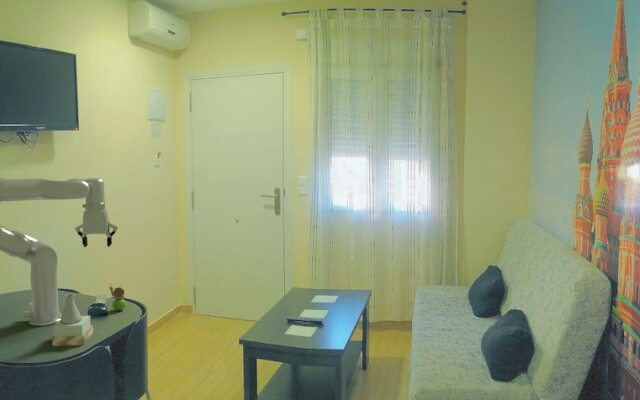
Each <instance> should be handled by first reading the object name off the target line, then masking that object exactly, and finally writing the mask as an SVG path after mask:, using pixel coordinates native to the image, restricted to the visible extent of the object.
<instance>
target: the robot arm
mask: <svg viewBox="0 0 640 400" xmlns="http://www.w3.org/2000/svg"><path fill="white" fill-rule="evenodd" d="M84 198H85V203H84V204H82V205H81V207H82V208H84V209H85V210H84V211H83V216H82V223H81V224H80V225H78V226H76V227H75V228H74V230H75V232H77V235H79V236H80V238H81V240H82V241H81V242H82V245H83V248H86V247H87V246H89V243H88V241H89V240H88V235H105V236H106V246H107V248H109V247H111V245H112V244H113V241H112V240H113V236H114V235H115V234H116V232H117V231H118V229H119V228H118V226H117V225H115V224H113V223H111V222H110V219H109V213H108V210H107V209H106V198H105V182H104V179H102V178H100V177H99V178H98V177H92V178H91V177H90V178H86V179H85V178H69V179H67V180H52V179H51V180H50V179H44V178H18V179H17V178H10V179H6V178H1V177H0V204H1V203H2V202H20V201H22V202H23V201H50V200H51V201H52V200H53V201H54V200H55V201H56V200H57V201H59V200H80V199H84ZM81 228H82V231H81ZM110 228H111V229H113V230H112V231H110V230H111V229H110ZM0 252H2V253H5V254H6V255H8V256H9V257H14V258H18V259H20V260H23V261H24V262H25V261H26V262H28V263H29V264H30V290H31V305H32V307H31V310H30V311H29V310H23V311H22V316H23V318H29V319H28V323H29V325H31V326H33V327H34V326H35V327H42V326H49V325H50V326H51V325H53V324H54V325H55V324H56V323H57V322H58V321H59V320H60V319H61V317H62V314H63V313H60V309H59V308H60V307H59V306H60V305H59V295H58V294H59V291H58V290H59V289H58V255H57V253H56V251H55V250H54V249H53V247H51V246H49V245H47V244H46V243H45V242H43V241H41V240H37V239H36V238H34V237H31V236H30V235H28V234H26V233H24V232H21V231H18V230H15V229H9V228H7V227H6V226H3V225H1V224H0Z"/></svg>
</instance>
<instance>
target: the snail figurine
mask: <svg viewBox="0 0 640 400" xmlns="http://www.w3.org/2000/svg"><path fill="white" fill-rule="evenodd" d="M108 285H109V290H110V293H111V296H112V297H113V298H114V300H113V301H112V308H113V309H114V310H115V311H118V312H119V311H123V310H124V309H125V307H126V301H125V299H124V298H125V290H124V288H122V287H121V286H120V287H119V286H118V287H116V288H114V287H113V286H112V284H111V283H109V284H108Z"/></svg>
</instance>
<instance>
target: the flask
mask: <svg viewBox="0 0 640 400" xmlns="http://www.w3.org/2000/svg"><path fill="white" fill-rule="evenodd" d="M75 296H76V295H75V294H74V293H72V294H71V293H69V294H65V295H64V298H65V306H64V308H63V312H62V313H61V314H62V317H61V320H60V322H61V323H63V324H72V323H76V322H79V321H80V320H82V317H81V316H82V315H81V313H80V311H79V309H78V307H77V306H76V305H77V304H76V302H75Z"/></svg>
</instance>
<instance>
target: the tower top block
mask: <svg viewBox="0 0 640 400" xmlns="http://www.w3.org/2000/svg"><path fill="white" fill-rule="evenodd" d="M81 317H82V320H80V321H79V322H76V323H72V324H63V323H61V322H60V320H61V319H60V320H59V321H58V322H57V323H54V325H53V326H52V327H53V329H52V330H53V336H54V337H61V336H83V335H84V333H85V332H86V331H87V329H88V328H89V327H90V326H91V315H81Z"/></svg>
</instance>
